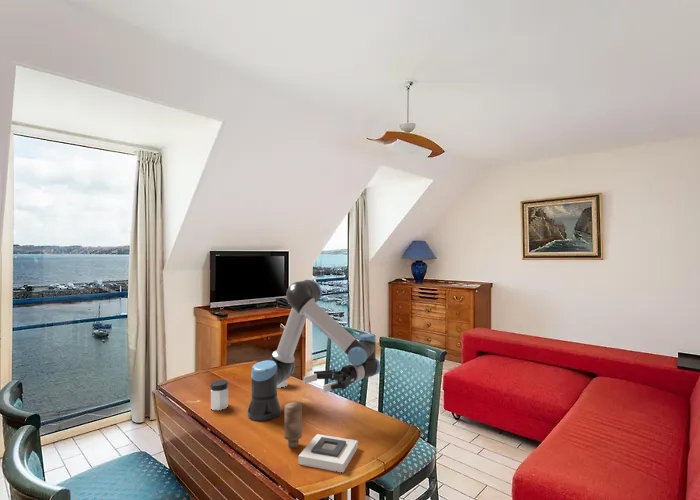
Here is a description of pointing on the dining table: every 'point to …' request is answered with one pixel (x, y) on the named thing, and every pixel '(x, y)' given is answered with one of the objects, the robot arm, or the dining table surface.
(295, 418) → the peg
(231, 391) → the dining table surface
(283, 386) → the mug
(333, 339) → the robot arm
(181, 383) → the dining table surface
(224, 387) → the jar
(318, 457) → the frame
